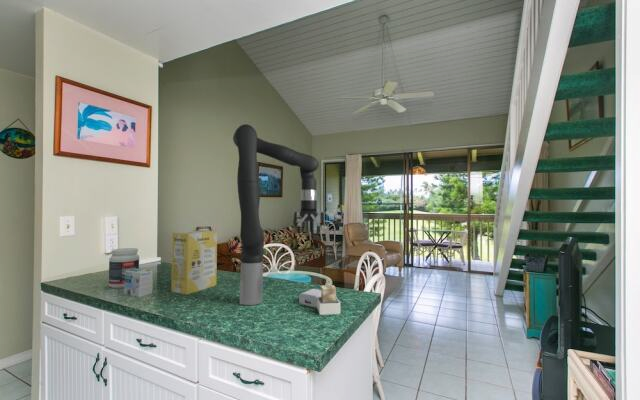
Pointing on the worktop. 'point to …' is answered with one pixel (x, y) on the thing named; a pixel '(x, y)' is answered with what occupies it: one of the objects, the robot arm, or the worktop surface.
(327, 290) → the wooden cube
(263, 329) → the worktop surface
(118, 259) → the supplement tub
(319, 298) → the plinth
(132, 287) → the light bulb box
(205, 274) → the yellow carton with handle
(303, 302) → the charger
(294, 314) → the worktop surface
